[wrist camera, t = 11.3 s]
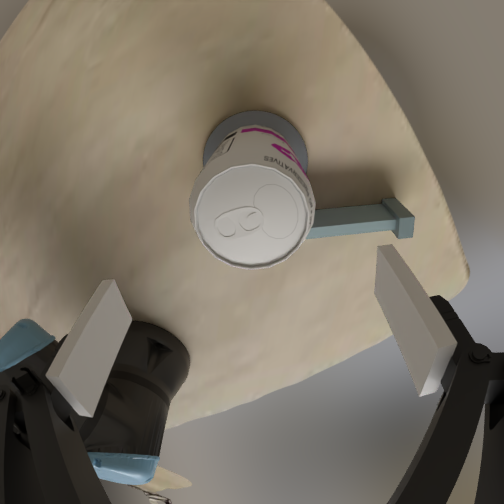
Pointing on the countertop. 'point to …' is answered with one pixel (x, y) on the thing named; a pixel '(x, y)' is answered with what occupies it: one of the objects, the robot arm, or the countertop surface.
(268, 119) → the coaster
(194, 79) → the countertop surface
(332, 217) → the handle
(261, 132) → the supplement can
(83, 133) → the countertop surface
